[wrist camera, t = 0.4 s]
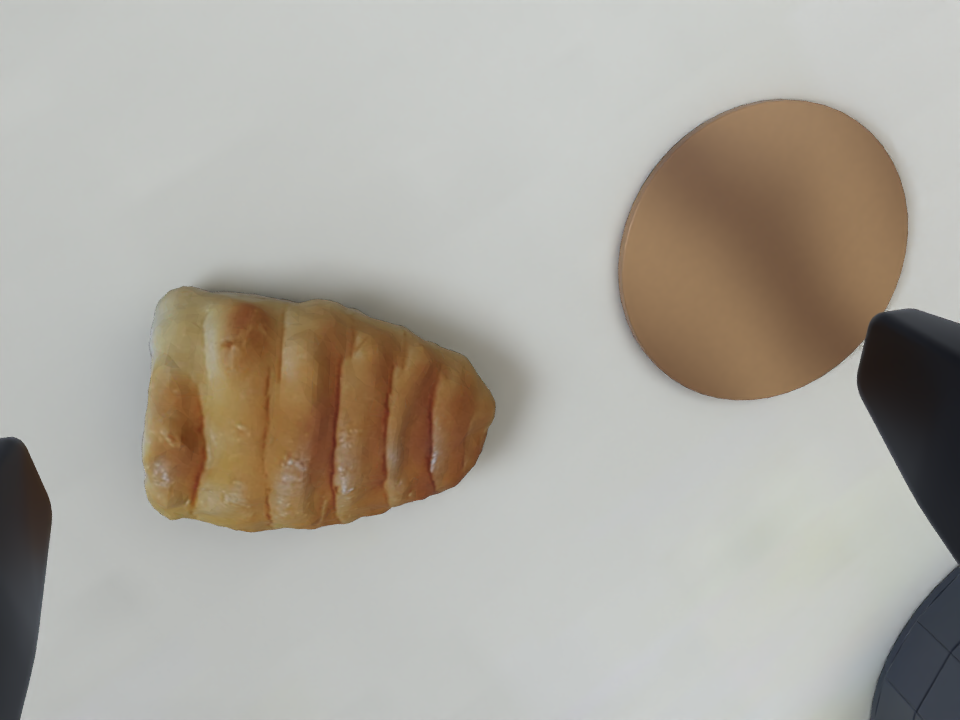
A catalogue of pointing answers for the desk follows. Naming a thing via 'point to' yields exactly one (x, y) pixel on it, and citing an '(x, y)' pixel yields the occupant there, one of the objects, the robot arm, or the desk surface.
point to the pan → (925, 662)
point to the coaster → (762, 249)
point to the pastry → (300, 412)
